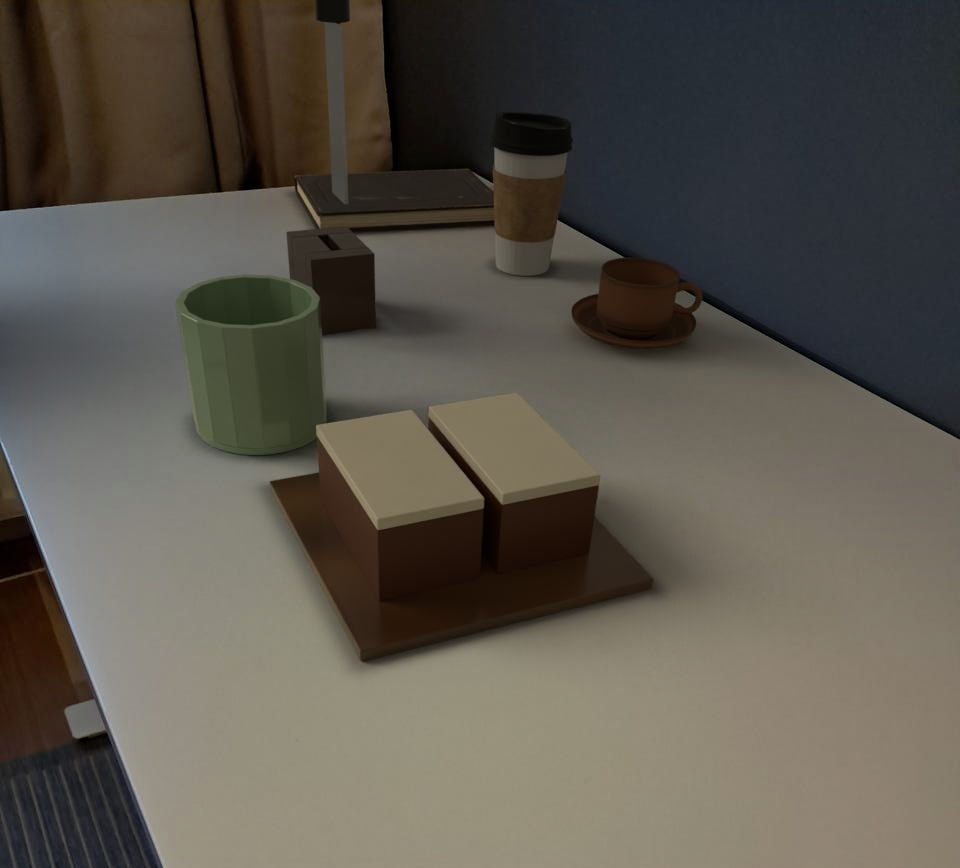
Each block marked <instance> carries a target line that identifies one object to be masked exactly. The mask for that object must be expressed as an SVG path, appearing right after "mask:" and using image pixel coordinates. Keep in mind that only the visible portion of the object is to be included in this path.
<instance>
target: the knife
mask: <svg viewBox="0 0 960 868" xmlns="http://www.w3.org/2000/svg"><path fill="white" fill-rule="evenodd" d="M350 9H351V8H350V0H314V11H315V20H316V21H317V22H322V23H324V41H325V63H326V86H327V106H328V107H327V108H328V127H329V128H328V130H329V148H330V149H329V150H330V172H331V173H330V174H331V175H332V193H333V194H334V195H335V196H337V197H338V198H339V199H340V200H341V201H342V202H343V203H344V204H345V205H347V204H348V178H347V173H348V156H347V155H348V153H347V152H348V151H347V130H346V129H347V126H346V99H345V97H346V96H345V72H344V71H345V69H344V68H345V67H344V42H343V41H344V40H343V39H344V38H343V23H349V22H350V21H351V13H350V12H351V10H350Z"/></svg>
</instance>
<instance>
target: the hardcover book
mask: <svg viewBox="0 0 960 868" xmlns="http://www.w3.org/2000/svg"><path fill="white" fill-rule="evenodd" d="M293 177H294V180H293V181H294V190H295V195H296V197H297V199H298V200H299V202H300V203H301V205H302V207H303V208H304V210H305V212H306V214H307V215H308V218H309V219H310V221H311V223H312V225H313V226H314V229H322V228H334V227H345V226H347V227H348V228H349V229H350V230H351V231H352V232H353V233H357V232H375V231H376V232H379V231H393V230H394V231H395V230H396V231H397V230H413V229H414V230H415V229H432V228H433V229H435V228H450V227H451V228H452V227H468V226H469V227H470V226H488V225H489V226H490V225H495V220H494V190H493V189H491V188H490V186H488V185H487V184H485V183H484V181H483V180H481V178H479V176H477V175H476V174H475V173H474V172H473V171H472V170H471V169H469V168H453V169H451V168H450V169H424V170H423V169H422V170H420V169H419V170H397V171H371V172H347V178H348V204H347V205H345V204H344V203H343V202H342V201H341V200H340V199H339V198H338V197H337V196H335V195H334V194H333V193H332V175H331V173H318V174H317V173H316V174H314V173H313V174H295V175H294V176H293Z"/></svg>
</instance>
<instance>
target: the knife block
mask: <svg viewBox="0 0 960 868" xmlns="http://www.w3.org/2000/svg"><path fill="white" fill-rule="evenodd" d="M286 244H287V246H286V247H287V260H288V270H289V272H288V273H289V279H292V280H296V281H298V282H300V283H303V284H305V285H307V286H309V287H311V288H313V290H314V291H315V292H316V293H317V295H318V296H319V297H320V306H321V323H322V336H324V335H330V334H331V335H332V334H339V333H345V332H354V331H362V330H369V329H370V330H371V329H376V328H377V312H376V311H377V307H376V306H377V305H376V303H377V302H376V262H375V261H376V259H375V253H374V252H373V250H371V249H370V248H369V247H368V246H367V245H366V244H365V243H364V242H363V241H362V240H361V239H360V238H359V237H358V236H357V235H356V234H355V232H352V231H351V230H350V229H349V228H348V227H347V226H345V227H334V228H322V229H316V228H311V229H301V230H291V231H286Z"/></svg>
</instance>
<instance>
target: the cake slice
mask: <svg viewBox="0 0 960 868" xmlns="http://www.w3.org/2000/svg"><path fill="white" fill-rule="evenodd" d="M427 429H428V430H429V431H430V432H431V434H432V435H433V436H434V437H435V438H436V440H437V441H438V442H439V443H440V445H441V446H442V447H443V448H444V449H445V451H446V452H447V453H448V454H449V456H450V457H451V458H452V459H453V460H454V462H455V463H456V464H457V465H458V467H459V468H460V469H461V470H462V471H463V473H464V474H465V475H466V476H467V478H468V479H469V480H470V481H471V482H472V484H473V485H474V486H475V487H476V489H477V490H478V491H479V492H480V493H481V495H482V496H483V497H484V508H483V509H484V516H483V532H482V549H481V553H482V555H483V556H484V557H485V559H486V560H487V561H488V563H489V564H490V565H491V567H492V568H493V569H494V570H495V572H496V573H497V574H500V573H504V572H509V571H513V570H517V569H522V568H526V567H530V566H535V565H539V564H543V563H548V562H552V561H556V560H561V559H565V558H569V557H574V556H578V555H582V554H587V553H589V551H590V544H591V537H592V530H593V524H594V517H596V510H597V504H598V503H597V502H598V496H599V489H600V486H599V485H600V481H601V473H599V472H598V471H597V470H596V468H594V467H593V466H592V464H590V463H589V462H588V461H587V460H586V459H585V458H584V457H583V456H582V455H581V454H580V453H579V452H578V451H577V450H576V449H575V448H574V447H573V446H572V445H571V444H570V443H569V442H568V441H567V440H566V439H565V438H564V437H563V436H562V435H561V434H560V433H559V432H558V431H557V430H556V429H555V428H554V427H553V426H552V425H551V424H550V423H549V422H548V421H547V420H545V418H544V417H543V416H541V414H540V413H539V412H537V411H536V409H535V408H533V406H532V405H530V404H529V402H527V400H525V399H524V398H523V396H521V395H520V393H518V392H513V393H506V394H500V395H494V396H487V397H481V398H476V399H470V400H469V399H468V400H462V401H458V402H451V403H450V402H449V403H445V404H439V405H431V406H429V407H428V427H427Z"/></svg>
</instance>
